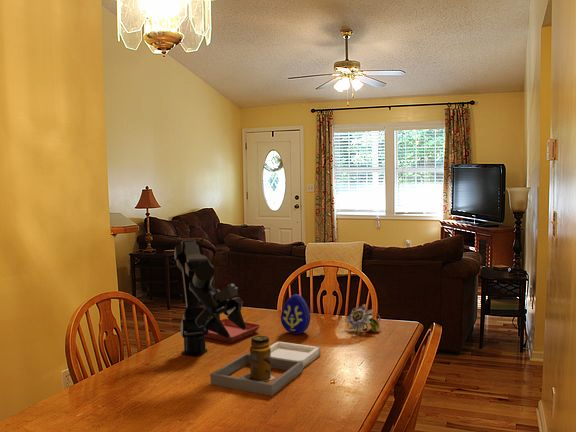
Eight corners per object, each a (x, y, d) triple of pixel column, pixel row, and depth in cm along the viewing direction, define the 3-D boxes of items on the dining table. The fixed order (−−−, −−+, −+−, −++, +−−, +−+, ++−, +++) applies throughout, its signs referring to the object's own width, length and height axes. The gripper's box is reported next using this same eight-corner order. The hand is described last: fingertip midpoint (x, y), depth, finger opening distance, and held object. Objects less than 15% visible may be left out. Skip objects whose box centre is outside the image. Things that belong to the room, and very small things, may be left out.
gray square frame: (210, 384, 150) (210, 374, 149) (246, 362, 167) (245, 353, 167) (272, 396, 141) (271, 385, 141) (302, 371, 159) (302, 361, 158)
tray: (256, 362, 167) (256, 354, 167) (277, 348, 181) (277, 341, 181) (301, 369, 160) (301, 361, 160) (320, 354, 174) (320, 347, 174)
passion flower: (356, 345, 200) (338, 319, 202) (368, 333, 209) (351, 308, 210) (376, 334, 193) (357, 307, 195) (389, 322, 202) (370, 296, 204)
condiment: (276, 378, 153) (276, 338, 153) (251, 385, 149) (250, 343, 148) (263, 371, 159) (263, 332, 159) (239, 377, 155) (238, 337, 154)
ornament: (278, 334, 197) (277, 295, 196) (287, 328, 206) (287, 290, 205) (305, 337, 193) (305, 297, 192) (314, 331, 201) (313, 292, 200)
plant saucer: (261, 332, 201) (261, 324, 201) (232, 345, 186) (232, 336, 186) (225, 326, 211) (225, 318, 211) (194, 337, 196) (194, 329, 196)
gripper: (202, 282, 149) (236, 324, 145) (237, 271, 166) (268, 309, 162) (181, 306, 153) (213, 348, 149) (217, 294, 170) (247, 331, 166)
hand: (237, 333), depth 156 cm, fingers open, 9 cm apart
